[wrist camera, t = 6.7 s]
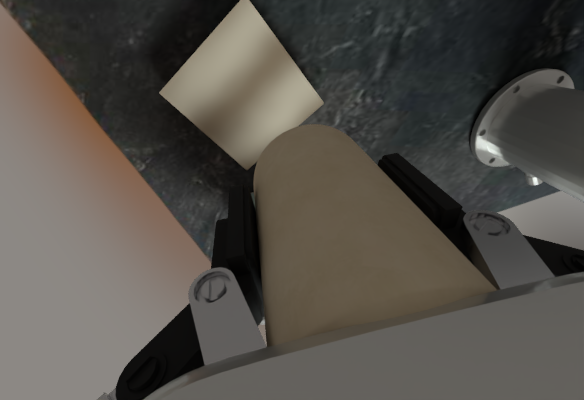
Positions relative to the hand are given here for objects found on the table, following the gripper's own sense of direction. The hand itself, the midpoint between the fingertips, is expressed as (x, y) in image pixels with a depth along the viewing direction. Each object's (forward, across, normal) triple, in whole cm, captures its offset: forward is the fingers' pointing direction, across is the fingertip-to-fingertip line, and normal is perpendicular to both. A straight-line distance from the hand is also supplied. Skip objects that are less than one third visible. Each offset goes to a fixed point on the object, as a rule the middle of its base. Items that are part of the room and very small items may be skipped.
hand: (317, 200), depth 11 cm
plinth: (+20, +2, -1) cm, 20 cm away
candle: (+2, 0, 0) cm, 2 cm away
